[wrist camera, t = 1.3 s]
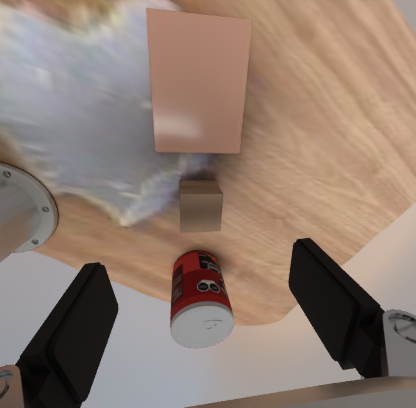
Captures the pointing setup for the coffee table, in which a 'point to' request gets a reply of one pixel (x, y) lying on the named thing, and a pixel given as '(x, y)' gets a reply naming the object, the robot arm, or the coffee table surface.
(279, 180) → the coffee table surface
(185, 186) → the walnut block
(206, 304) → the canned food
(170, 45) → the terracotta tile
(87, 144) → the coffee table surface
